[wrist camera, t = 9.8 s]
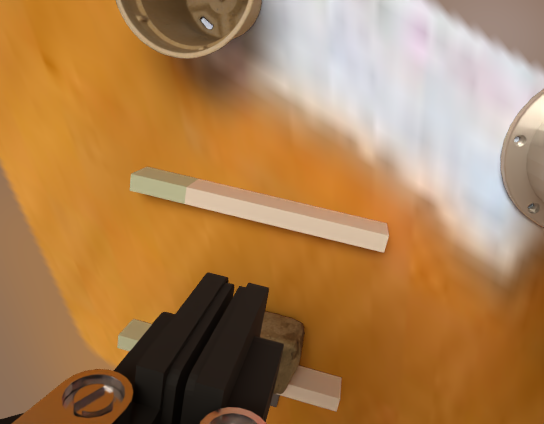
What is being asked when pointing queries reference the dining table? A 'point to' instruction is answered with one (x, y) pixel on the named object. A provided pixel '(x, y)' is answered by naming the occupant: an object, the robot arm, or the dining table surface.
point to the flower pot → (188, 23)
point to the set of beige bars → (273, 212)
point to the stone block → (292, 339)
